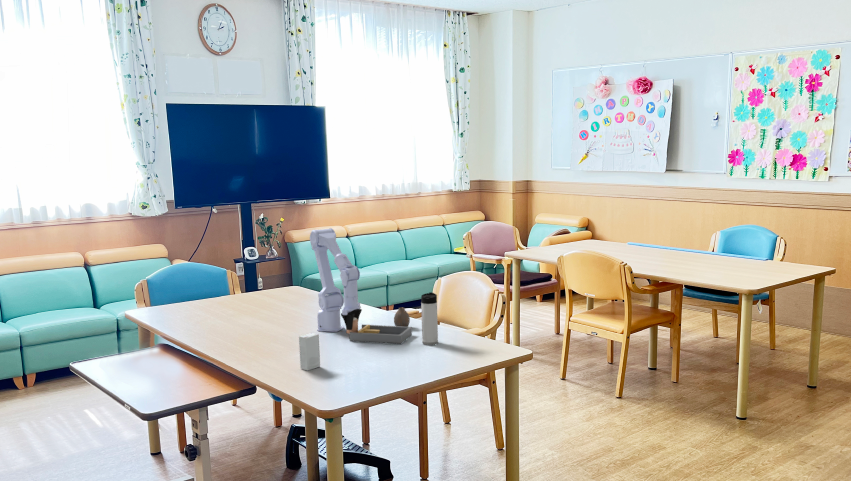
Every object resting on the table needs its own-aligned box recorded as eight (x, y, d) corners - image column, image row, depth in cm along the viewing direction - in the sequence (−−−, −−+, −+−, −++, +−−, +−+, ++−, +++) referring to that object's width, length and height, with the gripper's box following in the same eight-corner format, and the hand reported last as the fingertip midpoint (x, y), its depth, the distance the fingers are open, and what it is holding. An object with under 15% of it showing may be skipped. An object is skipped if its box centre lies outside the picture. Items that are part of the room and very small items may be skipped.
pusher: (358, 338, 279) (357, 331, 279) (367, 332, 290) (367, 324, 289) (374, 339, 277) (373, 331, 277) (383, 333, 288) (383, 325, 287)
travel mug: (440, 341, 275) (439, 292, 273) (435, 345, 269) (434, 296, 266) (425, 340, 277) (424, 292, 275) (420, 344, 271) (418, 295, 268)
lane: (349, 341, 279) (349, 332, 278) (362, 332, 292) (362, 324, 292) (401, 344, 272) (400, 335, 272) (411, 335, 286) (411, 327, 285)
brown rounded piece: (407, 330, 294) (407, 310, 293) (392, 329, 296) (391, 309, 295) (411, 326, 301) (410, 306, 300) (396, 325, 302) (395, 306, 301)
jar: (344, 333, 284) (343, 319, 283) (348, 330, 289) (348, 316, 288) (355, 334, 283) (355, 319, 282) (359, 331, 287) (359, 317, 287)
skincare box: (312, 364, 248) (311, 332, 247) (321, 367, 245) (319, 334, 244) (299, 369, 244) (297, 335, 242) (307, 371, 241) (306, 337, 239)
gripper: (352, 300, 276) (354, 332, 277) (366, 292, 289) (367, 324, 291) (336, 299, 278) (338, 332, 279) (350, 292, 292) (352, 323, 293)
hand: (352, 328), depth 285 cm, fingers closed on jar, 5 cm apart
